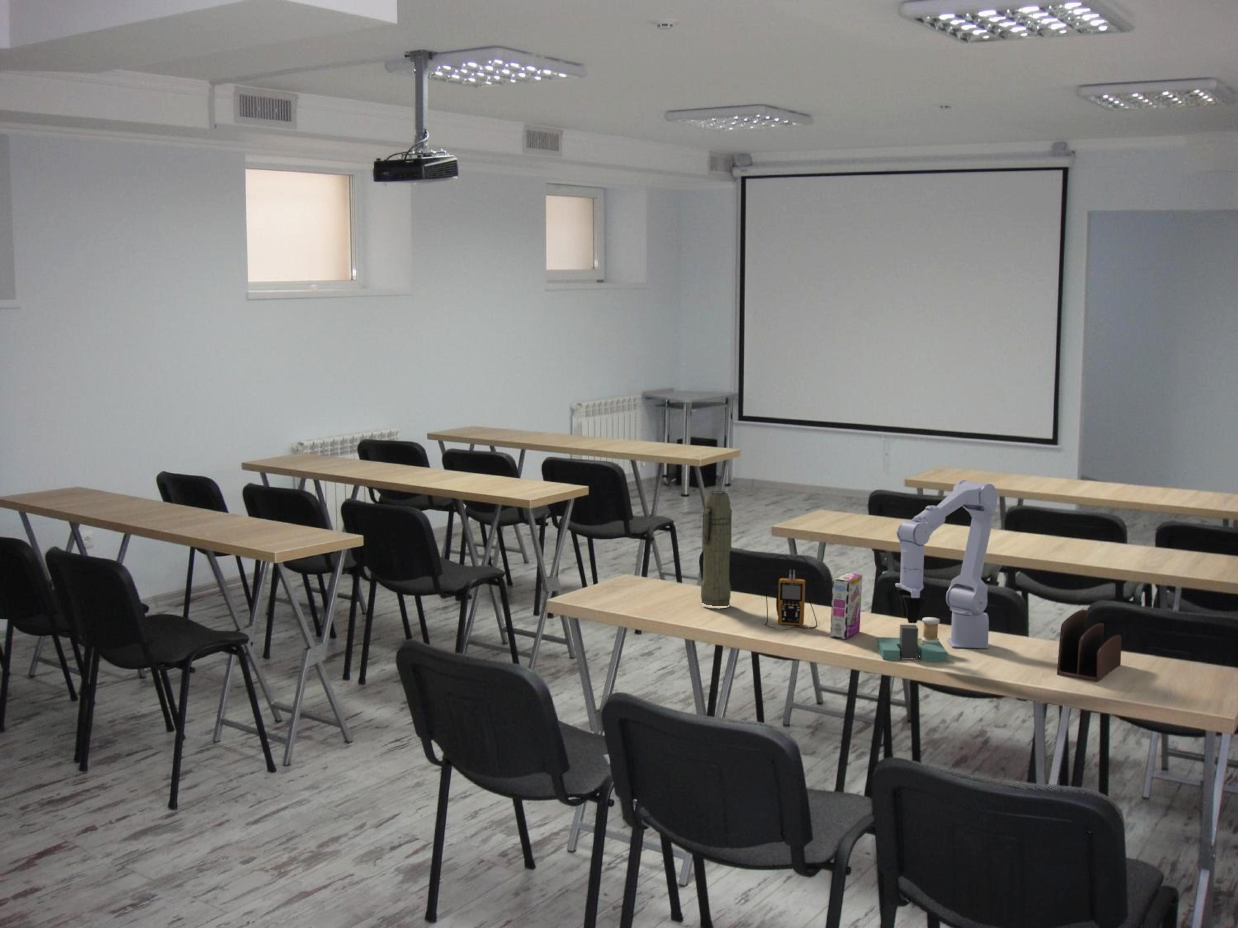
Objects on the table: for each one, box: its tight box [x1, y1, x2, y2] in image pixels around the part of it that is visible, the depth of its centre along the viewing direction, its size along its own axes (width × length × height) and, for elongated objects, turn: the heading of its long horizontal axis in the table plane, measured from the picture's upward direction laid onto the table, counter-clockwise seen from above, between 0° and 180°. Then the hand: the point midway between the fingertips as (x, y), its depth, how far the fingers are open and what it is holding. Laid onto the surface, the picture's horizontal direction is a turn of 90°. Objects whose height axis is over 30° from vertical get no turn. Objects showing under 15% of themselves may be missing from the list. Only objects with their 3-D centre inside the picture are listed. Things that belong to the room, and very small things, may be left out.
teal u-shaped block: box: [876, 616, 948, 662], centre depth 317 cm, size 16×13×8 cm
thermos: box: [700, 490, 733, 606], centre depth 367 cm, size 9×12×35 cm
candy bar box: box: [829, 572, 863, 640], centre depth 336 cm, size 11×5×16 cm, turn 149°
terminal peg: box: [899, 624, 919, 660], centre depth 314 cm, size 4×4×8 cm
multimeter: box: [764, 555, 818, 631], centre depth 342 cm, size 15×10×20 cm
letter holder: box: [1056, 609, 1122, 683], centre depth 304 cm, size 10×20×14 cm, turn 143°
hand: (910, 619), depth 313 cm, fingers open, 7 cm apart
